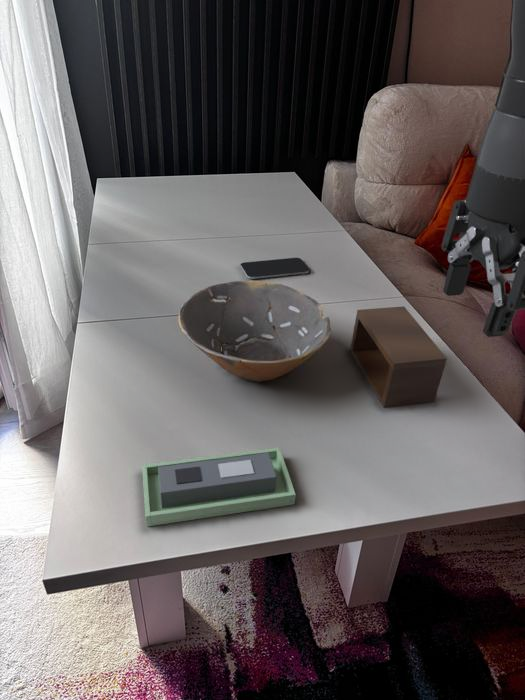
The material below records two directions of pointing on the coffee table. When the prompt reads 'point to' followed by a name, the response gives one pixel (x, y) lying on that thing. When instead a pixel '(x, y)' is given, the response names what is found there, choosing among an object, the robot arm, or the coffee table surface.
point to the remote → (216, 479)
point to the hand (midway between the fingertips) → (471, 313)
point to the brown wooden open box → (396, 356)
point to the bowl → (255, 327)
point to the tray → (218, 507)
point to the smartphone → (274, 268)
